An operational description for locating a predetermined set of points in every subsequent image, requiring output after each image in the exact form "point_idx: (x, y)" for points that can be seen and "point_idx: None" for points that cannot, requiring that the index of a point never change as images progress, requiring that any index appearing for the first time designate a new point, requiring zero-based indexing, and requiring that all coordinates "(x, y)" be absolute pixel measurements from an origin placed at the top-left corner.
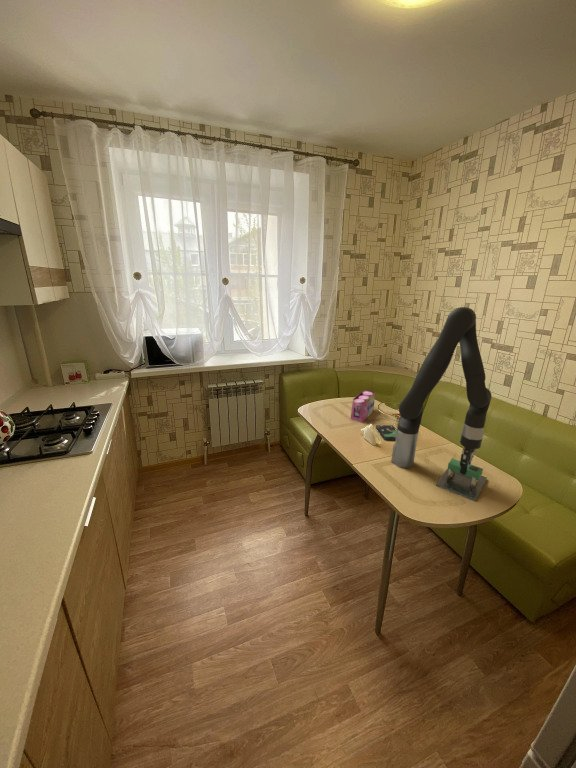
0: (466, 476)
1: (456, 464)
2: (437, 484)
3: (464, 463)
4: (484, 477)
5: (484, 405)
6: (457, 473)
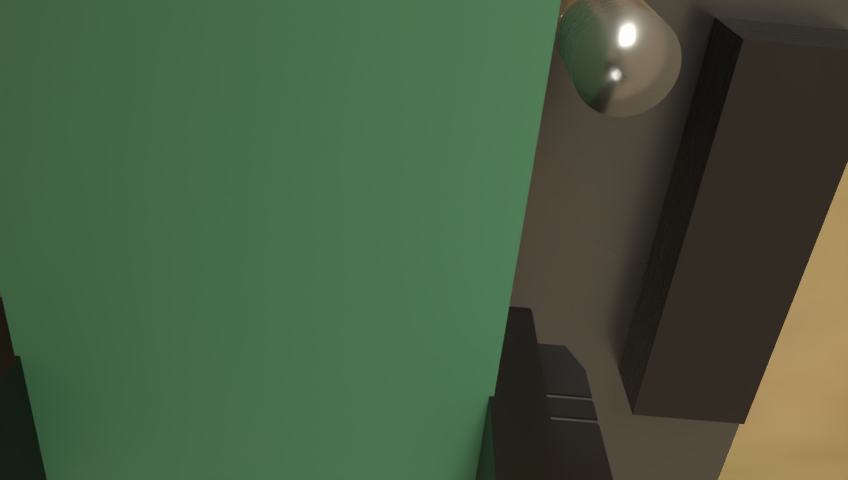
0: (542, 232)
1: (126, 197)
2: None
3: (422, 401)
4: (690, 462)
5: None
6: (561, 60)
